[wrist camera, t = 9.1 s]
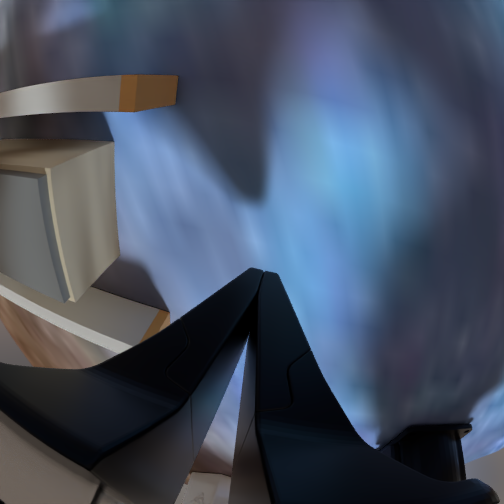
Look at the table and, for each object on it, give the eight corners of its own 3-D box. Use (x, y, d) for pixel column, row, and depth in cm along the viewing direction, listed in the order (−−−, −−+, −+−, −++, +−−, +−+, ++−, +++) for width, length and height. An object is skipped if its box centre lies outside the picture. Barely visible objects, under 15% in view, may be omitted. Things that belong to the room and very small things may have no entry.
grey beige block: (117, 140, 10) (40, 172, 6) (122, 252, 12) (69, 309, 9) (5, 137, 10) (-53, 163, 7) (17, 221, 13) (-31, 257, 10)
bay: (178, 75, 8) (137, 74, 6) (170, 327, 14) (149, 365, 12) (-16, 97, 9) (-50, 108, 7) (10, 264, 15) (-14, 285, 13)
